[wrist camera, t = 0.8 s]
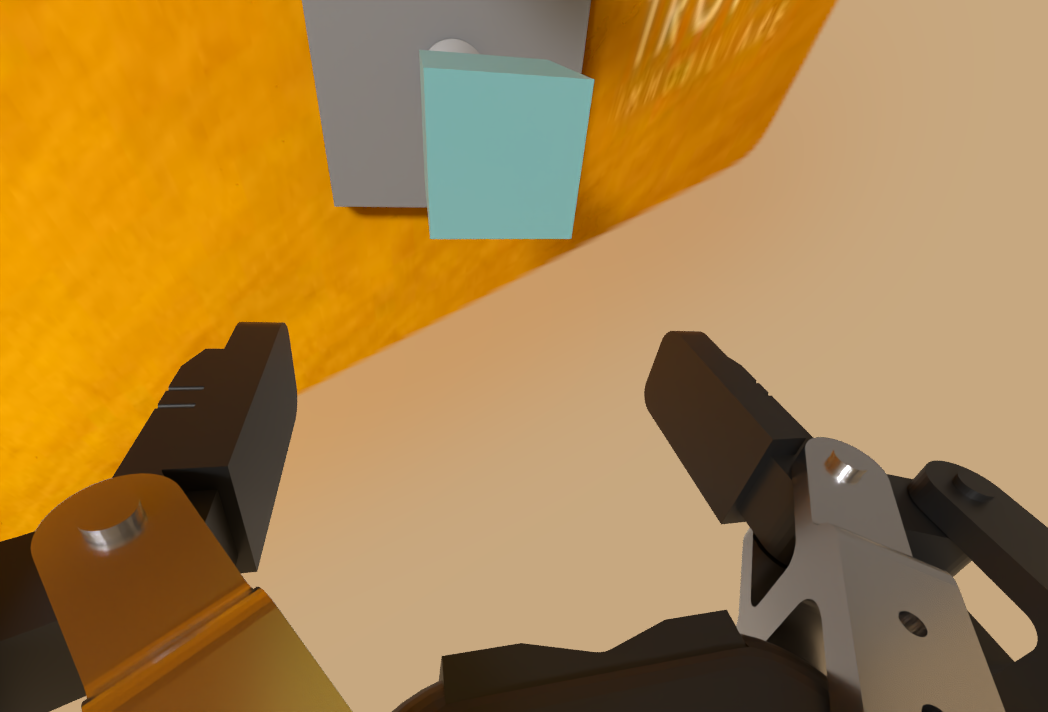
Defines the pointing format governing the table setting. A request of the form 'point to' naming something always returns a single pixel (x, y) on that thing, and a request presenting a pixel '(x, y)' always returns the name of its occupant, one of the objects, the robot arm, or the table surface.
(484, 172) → the teal cube
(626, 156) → the table surface
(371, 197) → the post stand
